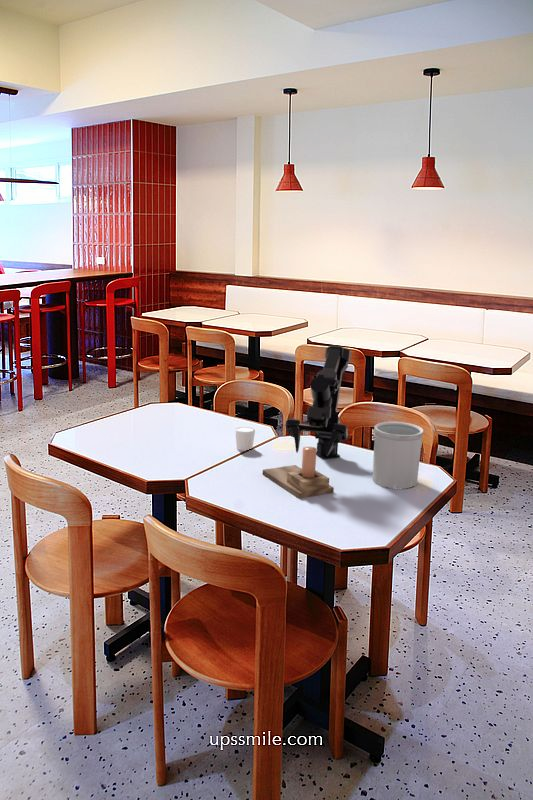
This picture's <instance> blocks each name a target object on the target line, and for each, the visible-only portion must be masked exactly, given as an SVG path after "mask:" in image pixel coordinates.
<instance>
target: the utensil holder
mask: <svg viewBox="0 0 533 800" xmlns="http://www.w3.org/2000/svg"><path fill="white" fill-rule="evenodd" d="M373 428H374V429H373V431H374V440H373V441H374V442H373V443H374V444H373V462H372V463H373V465H372V481H373V482H374V483H375V484H376V485H378V486H380V485H381V486H380V487H383V486H384V487H383V488H386V487H389V488H388V489H392V488H397V489H396V490H401V489H400V488H408V489H410V488H409V487H412V486H414V485H415V486H417V483H418V478H419V470H420V469H419V467H420V460H421V450H422V441H423V440H422V439H423V436H424V432H425V431H424V429H423V428H422V427H421V426H419V425H417V424H414V423H408V422H404V421H403V422H401V421H383V422H378V423H376V424H375V425H374V427H373ZM415 486H414V487H415ZM398 488H399V489H398ZM412 488H413V487H412Z"/></svg>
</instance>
